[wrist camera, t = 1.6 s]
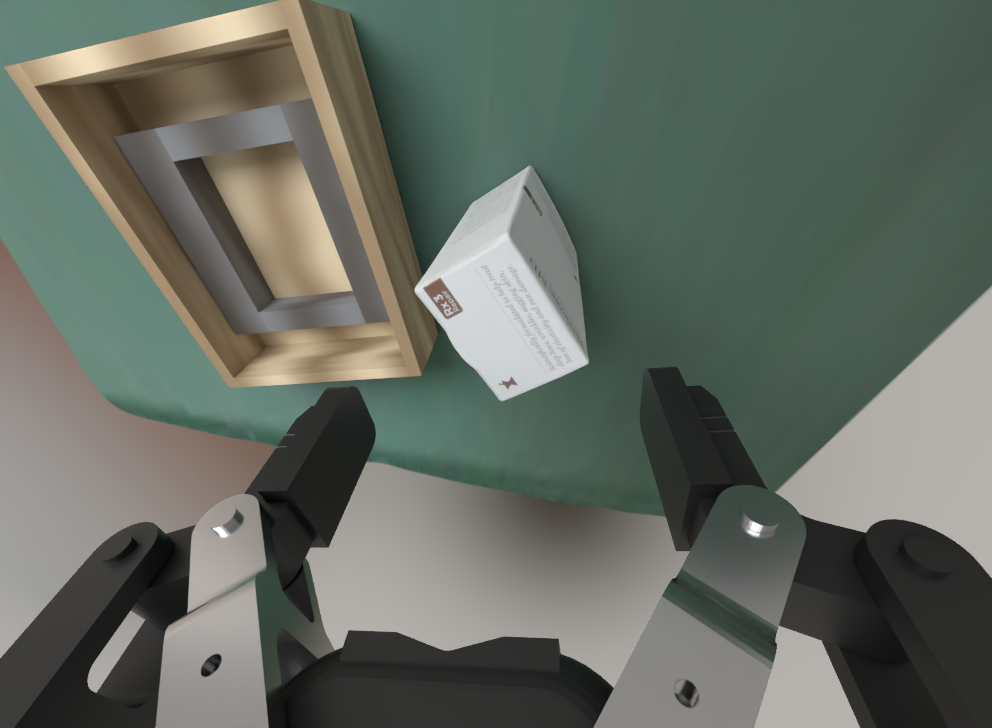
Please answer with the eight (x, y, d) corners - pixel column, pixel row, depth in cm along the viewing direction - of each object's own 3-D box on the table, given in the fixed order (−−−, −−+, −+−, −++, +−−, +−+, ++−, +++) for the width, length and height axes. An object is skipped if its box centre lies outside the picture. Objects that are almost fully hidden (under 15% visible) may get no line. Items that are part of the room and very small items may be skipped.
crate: (349, 12, 19) (296, -4, 15) (438, 334, 29) (421, 375, 25) (106, 68, 21) (3, 67, 17) (269, 347, 31) (229, 388, 27)
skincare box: (579, 250, 24) (603, 368, 15) (517, 285, 26) (502, 409, 16) (528, 157, 22) (518, 226, 12) (463, 202, 23) (407, 294, 14)
